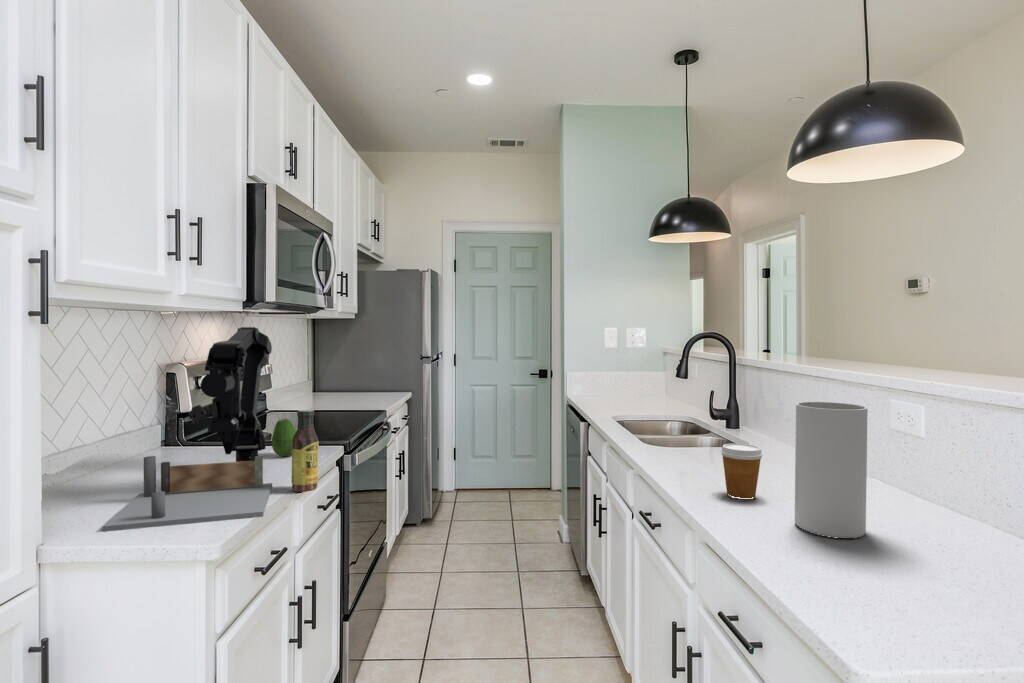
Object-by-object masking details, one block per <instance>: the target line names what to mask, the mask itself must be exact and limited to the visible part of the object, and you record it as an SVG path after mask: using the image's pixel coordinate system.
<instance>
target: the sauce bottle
mask: <svg viewBox="0 0 1024 683" xmlns="http://www.w3.org/2000/svg"><path fill="white" fill-rule="evenodd" d="M296 412H297V413H296V415H297V430H296V433H295V435H294V436H293V448H292V455H291V485H292V486H291V490H292V491H293V492H295V493H296V492H298V493H305V492H311V491H315V490H316V489H317V488H318V482H319V448H320V447H319V446H320V445H319V442H320V441H319V438H318V436H317V433H316V430H315V424H314V421H315V420H314V417H315V410H314V409H298V410H297V411H296Z"/></svg>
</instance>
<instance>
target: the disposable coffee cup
mask: <svg viewBox="0 0 1024 683" xmlns="http://www.w3.org/2000/svg"><path fill="white" fill-rule="evenodd" d="M720 453H721V455H722V464H723V470H724V479H725V480H724V481H725V487H726V495H727V494H729V495H731V496H734V497H740V498H752V497H755V498H756V493H757V487H758V480H759V472H760V466H761V459H762V457H763V455H764V453H763V451H762V448H761V447H760V446H757V445H753V444H747V443H724V444H723V445H722V447H721V449H720Z"/></svg>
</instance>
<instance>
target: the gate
mask: <svg viewBox="0 0 1024 683" xmlns="http://www.w3.org/2000/svg"><path fill="white" fill-rule="evenodd" d="M263 459H264V457H263V455H258V456H256V457H255V461H241V462H236V461H229V462H216V463H215V462H214V463H212V462H211V463H197V464H181V465H171V463H170V462H171V461H163V462H160V491H164V492H165V493H169V492H183V491H196V490H209V489H222V488H235V487H247V486H262V485H263V484H264V463H263V462H264V460H263Z"/></svg>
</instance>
